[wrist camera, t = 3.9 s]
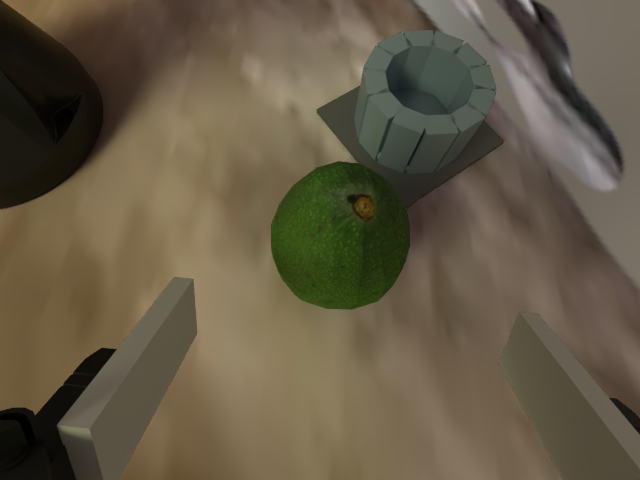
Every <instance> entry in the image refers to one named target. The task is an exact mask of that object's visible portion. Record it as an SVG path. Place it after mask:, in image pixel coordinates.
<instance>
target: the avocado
mask: <svg viewBox="0 0 640 480" xmlns="http://www.w3.org/2000/svg"><path fill="white" fill-rule="evenodd" d="M409 247H410V231H409V220H408V214H407V212H406V210H405V208H404V206H403V204H402V202H401V200H400V199H399V197H398V195H397V193H396V191H395V189H394V187H393V186H392V184H391V183H390V182H389V181H388V180H387V179H385V178H384V177H382V176H381V175H379V174H378V173H376V172H375V171H373V170H372V169H370V168H368V167H365V166H363V165H361V164H356V163H348V162H340V161H338V162H335V163H332V164H328V165H325V166H321V167H318V168H316V169H314V170H313V171H312V172H310V173H309V174H308V175H307V176H305V177H304V178H302V179H301V180H300V181H298V182H297V183H296V184H295V185H294V186H293V187H292V188H291V189H290V190H289V192H288V193H287V194H286V196H285V197H284V198H283V200H282V201H281V202H280V204H279V206H278V209H277V211H276V214H275V216H274V219H273V221H272V224H271V250H272V255H273V259H274V262H275V264H276V267H277V269H278V271H279V274H280V276H281V278H282V280H283V281H284V282H285V283H286V284H287V286H288V287H289V288H290V289H291V291H292V292H293V293H294V294H295V295H296V296H297V297H298V298H300V299H301V300H303V301H305V302H308V303H311V304H314V305H317V306H320V307H324V308H327V309H355V308H358V307H361V306H364V305H367V304H370V303H373V302H377V301H378V300H379V299H380V298H381V297H382V296H383V295H384V294H385V293H386V292H387V291H388V290H389V289H390V288H391V287H392V286H393V284H394V283H395V281H396V279H397V277H398V276H399V274H400V272H401V270H402V269H403V265H404V263H405V261H406V257H407V254H408V250H409Z"/></svg>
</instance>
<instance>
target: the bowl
mask: <svg viewBox="0 0 640 480" xmlns="http://www.w3.org/2000/svg"><path fill="white" fill-rule="evenodd" d="M462 43H463V40H461V39H458V38H455V37H452V36H450V35H447V34H444V33H442V32H439V31H436V32H435V35H433V31H432V30H414V31H404V33H403V34H402V33H401V32H399V33H397V34H395V35H393V36H391V37H389V38H388V39H386V40H384V41H382V42H380V43H378V45H377V46H375V47H374V49H373V51H372V53H371V55H370V56H369V58H368V60H367V62H366V64H365V65H364V69H363V74H362V79H361V84H360V90H359V95H358V100H357V105H356V111H355V116H354V119H355V126H356V133H357V139H359V143H360V144H361V145H362V146H363V147H364V149H365V150H366V151H367V152H368V153H369V155H370V156H371V157H372V158H373V159H374V161H375V160H377V161H378V163H379V164H382V165H384V166H386V167H389V168H391V169H393V170H396V171H398V172H401V173H403V172H406V174H415V173H433V171H434V170H435V171H438V170H439V169H441V168H442V167H444V166H445V165H447V164H448V163H450V162H451V161H453V160H455V159H456V158H457V156H458V155H459V154H460V153H461V151H462V150H463V148H464V147H465V146H466V144H467V143H468V141H469V140H470V139H471V137H472V136H473V135H474V133H475V132H476V130H477V129H478V128H479V126H480V125H481V123H482V122H483V121H484V119H485V118H486V116H487V115H488V113H489V110H490V108H491V105H492V102H493V100H494V97H495V94H496V92H495V89H496V85H495V83H494V79H493V76H492V73H491V69H490V66H489V65H485V64H486V62H487V61H486V60H485V59H484V58H483V57H482V56H480V55H479V54H478V53H477V52H476V51H475V50H474V49H473V48H472V47H471V46H470V45H469V44H468V43H466V44H464V45H462ZM461 45H462V46H461Z"/></svg>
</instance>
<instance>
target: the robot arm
mask: <svg viewBox="0 0 640 480" xmlns="http://www.w3.org/2000/svg"><path fill="white" fill-rule="evenodd" d="M102 117H103V106H102V99H101V95H100V92H99V90H98V87H97V86H96V84H95V82H94V81H93V79H92V78H91V76H90V75H89V74H88V72H87V71H86V70H85V68H84V67H83V66H82V64H81V63H80V62H79V61H78V59H77V58H76V57H75V56H74V55H73V54H72V53H71V52H70V51H69V50H68V49H67V48H65V47H64V46H63V45H62V44H60V43H59V42H58V41H56V40H55V39H53V38H52V37H51V36H49V35H48V34H47V33H45V32H44V31H43V30H41V29H40V28H39V27H37V26H36V25H34V24H33V23H32V22H30V21H29V20H28V19H26V18H25V17H24V16H22V15H21V14H19V13H18V12H17V11H15V10H14V9H13V8H11V7H10V6H9V5H7V4H6V3H4V2H3V1H2V0H0V209H2V208H7V207H10V206H14V205H17V204H20V203H23V202H25V201H28V200H30V199H33V198H35V197H37V196H39V195H41V194H43V193H45V192H46V191H48V190H50V189H51V188H53V187H54V186H56V185H57V184H59V183H60V182H61V181H63V180H64V179H65V178H66V177H68V176H69V175H70V174H71V173H72V172H73V171H74V170H75V169H76V168H77V167H78V166H79V165H80V164H81V163H82V161H83V160H84V159H85V158H86V156H87V155H88V153H89V152H90V150H91V149H92V147H93V145H94V143H95V141H96V139H97V137H98V134H99V131H100V128H101V123H102ZM196 335H197V323H196V309H195V295H194V281H193V279H189V278H179V277H174V278H173V279H172V281H171V282H170V283H169V284H168V286H167V287H166V288H165V289H164V291H163V292H162V293H161V294H160V296H159V297H158V298H157V300H156V301H155V302H154V303H153V305H152V306H151V307H150V308H149V310H148V311H147V312H146V313H145V315H144V316H143V317H142V318H141V320H140V321H139V322H138V323H137V325H136V326H135V327H134V329H133V330H132V331H131V332H130V334H129V335H128V336H127V337H126V339H125V340H124V341H123V342H122V344H121V345H120V346H119V347H118V349H108V348H101V349H99V350H98V351H96V352H95V353H93V354H92V355H90V356H89V357H87V358H86V359H85V360H84V361H83V362H82V363H81V364H80V365H79V366H78V368H77V369H76V370H75V371H74V372H73V375H71V376H70V377H69V378H68V379H67V380H66V381H65V382H64V385H63V386H61V387H60V388H59V389H58V390H57V391H56V393H55V394H54V395H53V396H52V397H51V398H50V399H49V401H48V402H47V403H46V404H45V405H44V406H43V407H42V409H41V410H40V411H39V412H38V413H37V414H36V415H34V412H33V411H31V410H29V409H27V408H10V409H6V410H2V411H0V480H119V479H120V477H121V475H122V473H123V471H124V469H125V467H126V466H127V464H128V462H129V460H130V458H131V456H132V454H133V452H134V451H135V449H136V447H137V445H138V443H139V441H140V439H141V438H142V436H143V434H144V432H145V430H146V428H147V426H148V424H149V423H150V421H151V419H152V417H153V415H154V413H155V411H156V409H157V408H158V406H159V404H160V402H161V400H162V398H163V396H164V394H165V393H166V391H167V389H168V387H169V385H170V383H171V381H172V379H173V378H174V376H175V374H176V372H177V370H178V368H179V366H180V365H181V363H182V361H183V359H184V357H185V355H186V353H187V351H188V350H189V348H190V346H191V344H192V342H193V340H194V338H195V336H196ZM498 364H499V366H500V367H501V369H502V371H503V373H504V375H505V376H506V378H507V380H508V382H509V384H510V385H511V387H512V389H513V391H514V393H515V394H516V396H517V398H518V400H519V402H520V403H521V405H522V407H523V409H524V411H525V412H526V414H527V416H528V418H529V419H530V421H531V423H532V425H533V427H534V428H535V430H536V432H537V434H538V436H539V437H540V439H541V441H542V443H543V445H544V446H545V448H546V450H547V452H548V454H549V455H550V457H551V459H552V461H553V463H554V464H555V466H556V468H557V470H558V472H559V473H560V475H561V477H562V479H563V480H640V418H639V417H638V416H637V415H636V414H635V413H634V412H633V411H632V410H630V409H629V408H628V407H627V406H625V405H624V404H623V403H621V402H620V401H619V400H618V399H616V398H608V396H607V395H606V394H605V393H604V392H603V390H602V389H601V388H600V387H599V386H598V384H597V383H596V382H595V381H594V380H593V378H592V377H591V376H590V375H589V374H588V372H587V371H586V370H585V369H584V368H583V366H582V365H581V364H580V363H579V362H578V361H577V359H576V358H575V357H574V356H573V355H572V353H571V352H570V351H569V350H568V349H567V347H566V346H565V345H564V344H563V343H562V341H561V340H560V339H559V338H558V337H557V335H556V334H555V333H554V332H553V331H552V329H551V328H550V327H549V326H548V325H547V324H546V322H545V321H544V320H543V319H542V318H541V316H540V315H539V314H536V313H526V312H519V314H518V316H517V319H516V321H515V324H514V326H513V329H512V331H511V333H510V336H509V338H508V341H507V343H506V346H505V348H504V351H503V353H502V356H501V358H500V361H499V363H498Z"/></svg>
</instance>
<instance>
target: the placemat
mask: <svg viewBox="0 0 640 480" xmlns="http://www.w3.org/2000/svg"><path fill="white" fill-rule="evenodd" d="M359 90H360V86H359V87H357V88H355V89H353V90H351V91H349V92H348V93H346V94H344V95H342V96H340V97H338V98H337V99H335V100H333V101H331V102H329V103H327V104H326V105H324V106H322V107H320V108H318V109H317V113H318V115H319V116H320V117H321V118H322V119H323V121H324V122H325V123H326V124H327V125H328V127H329V128H330V129H331V130H332V132H333V133H334V134H335V135H336V136H337V138H338V139H339V140H340V141H341V142H342V144H343V145H344V146H345V147H346V149H347V150H348V151H349V152H350V153H351V155H352V156H353V157H354V158H355V159H356V161H357V162H358V163H359V164H361V165H363V166H365V167H368V168H370V169H372V170H373V171H375V172H376V173H378V174H379V175H381V176H382V177H384V178H385V179H387V180H388V181H389V182H390V183H391V184H392V186H393V187H394V189H395V191H396V193H397V195H398V197H399V199H400V200H401V202H402V204H403V206H404V208H406V207H408V206H409V205H411V204H412V203H414V202H415V201H417V200H418V199H420V198H421V197H423V196H424V195H426V194H427V193H429V192H430V191H432V190H433V189H435V188H436V187H438V186H439V185H441V184H442V183H444V182H445V181H447V180H449V179H450V178H452V177H453V176H455V175H456V174H458V173H459V172H461V171H462V170H464V169H465V168H467V167H468V166H470V165H471V164H473V163H474V162H476V161H477V160H479V159H480V158H482V157H483V156H485V155H486V154H488V153H489V152H491V151H492V150H494V149H495V148H497V147H498V146H500V145H501V144H502V143H503V142H504V141H503V140H502V139H501V138H500V137H499V136H498V135H497V134H496V133H495V132H494V131H493V130H492V128H491V127H490V126H489V125H488V124H487V123H486V122H485V121H483V122H482V123H481V125H480V126H479V128H478V129H477V130H476V132H475V133H474V135H473V136H472V137H471V139H470V140H469V141H468V143H467V144H466V146H465V147H464V148H463V150H462V151H461V153H460V154H459V155H458V156H457V158H456V159H455V160H453V161H451V162H450V163H448V164H447V165H445V166H444V167H442V168H441V169H439V170H438V171H435V170H434V171H433V173H415V174H406V172H403V173H401V172H398V171H396V170H393V169H391V168H389V167H386V166H384V165H382V164H379V163H378V161H377V160H375V161H374V159H373V158H372V157H371V156H370V155H369V153H368V152H367V151H366V150H365V149H364V147H363V146H362V145H361V144H360V143H359V139H357V133H356V126H355V119H354V116H355V111H356V105H357V100H358V95H359Z"/></svg>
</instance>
